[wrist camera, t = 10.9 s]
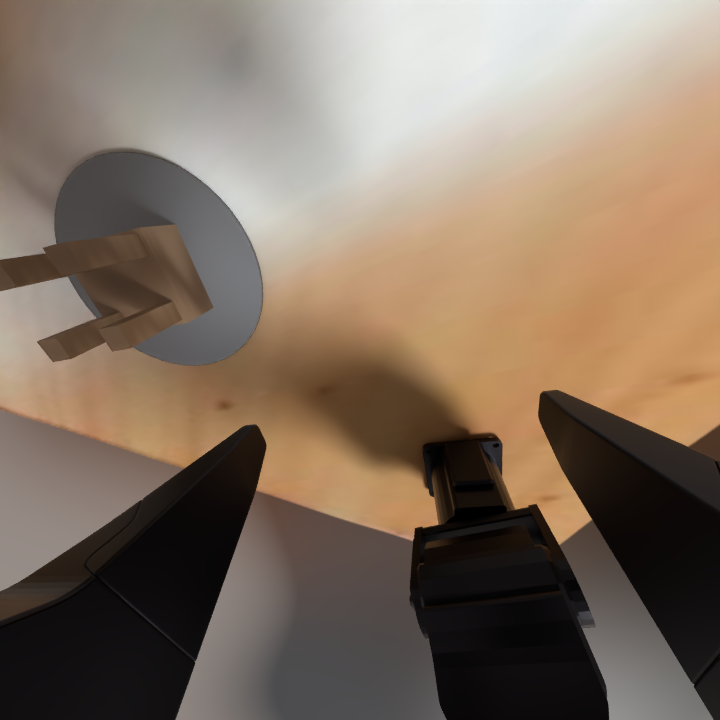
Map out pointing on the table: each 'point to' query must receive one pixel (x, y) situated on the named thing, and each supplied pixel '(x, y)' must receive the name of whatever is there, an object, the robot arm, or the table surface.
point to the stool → (118, 286)
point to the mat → (199, 233)
